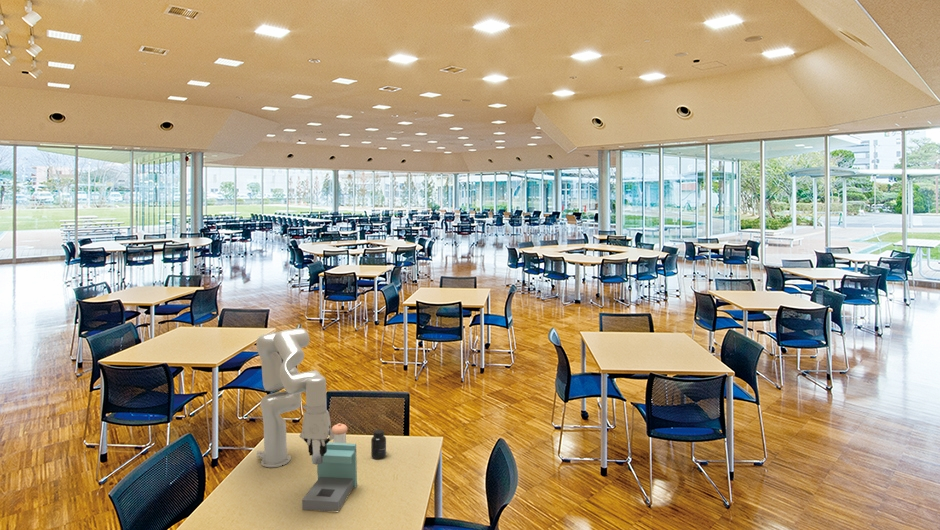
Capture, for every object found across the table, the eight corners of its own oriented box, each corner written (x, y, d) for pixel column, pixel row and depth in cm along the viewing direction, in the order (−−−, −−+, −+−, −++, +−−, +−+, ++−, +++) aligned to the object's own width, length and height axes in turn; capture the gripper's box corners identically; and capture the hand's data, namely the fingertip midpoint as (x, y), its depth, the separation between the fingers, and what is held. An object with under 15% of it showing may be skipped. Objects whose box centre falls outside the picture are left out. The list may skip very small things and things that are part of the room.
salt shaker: (350, 461, 243) (349, 420, 241) (345, 469, 236) (344, 427, 234) (335, 460, 244) (334, 420, 242) (329, 468, 236) (328, 426, 235)
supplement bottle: (383, 460, 244) (382, 435, 243) (369, 458, 246) (368, 433, 244) (388, 453, 251) (388, 429, 250) (374, 452, 252) (374, 427, 251)
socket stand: (299, 509, 203) (298, 464, 202) (319, 483, 223) (318, 441, 221) (340, 512, 202) (339, 466, 200) (356, 485, 222) (356, 443, 220)
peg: (310, 464, 205) (309, 434, 204) (314, 459, 209) (314, 429, 208) (320, 464, 205) (319, 434, 204) (324, 460, 209) (323, 430, 208)
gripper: (291, 411, 202) (292, 457, 204) (333, 412, 200) (335, 459, 202) (299, 404, 210) (301, 449, 211) (340, 405, 208) (342, 451, 210)
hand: (317, 453), depth 207 cm, fingers closed on peg, 4 cm apart
